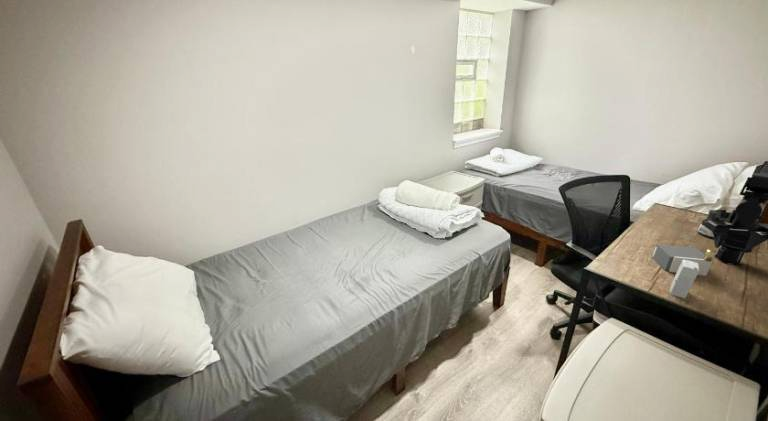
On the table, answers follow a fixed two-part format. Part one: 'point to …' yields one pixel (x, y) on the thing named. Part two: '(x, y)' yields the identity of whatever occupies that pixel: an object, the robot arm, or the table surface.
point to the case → (674, 254)
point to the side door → (703, 263)
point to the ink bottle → (706, 231)
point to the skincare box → (684, 278)
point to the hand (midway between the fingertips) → (731, 248)
